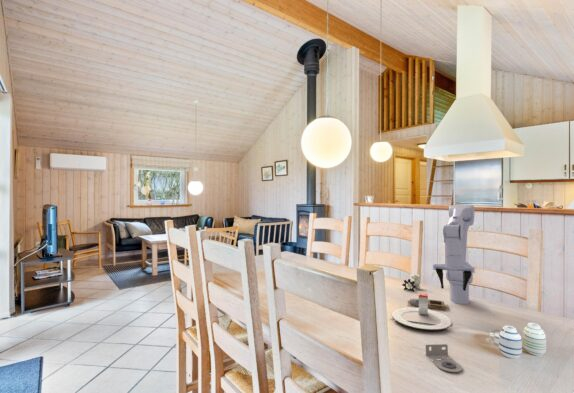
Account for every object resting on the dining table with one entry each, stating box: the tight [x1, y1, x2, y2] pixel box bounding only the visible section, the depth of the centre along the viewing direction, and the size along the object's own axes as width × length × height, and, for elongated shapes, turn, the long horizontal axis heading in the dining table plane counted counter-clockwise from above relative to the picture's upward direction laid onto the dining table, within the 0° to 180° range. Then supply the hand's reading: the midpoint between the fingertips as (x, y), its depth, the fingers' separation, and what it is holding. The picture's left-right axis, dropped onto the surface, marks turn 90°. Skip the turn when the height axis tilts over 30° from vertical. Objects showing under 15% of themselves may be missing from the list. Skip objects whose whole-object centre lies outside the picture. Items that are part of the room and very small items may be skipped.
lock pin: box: [418, 292, 429, 316], centre depth 122 cm, size 3×3×7 cm
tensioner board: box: [407, 298, 451, 312], centre depth 131 cm, size 8×16×3 cm, turn 68°
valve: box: [401, 274, 421, 292], centre depth 157 cm, size 7×7×12 cm
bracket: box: [425, 343, 463, 373], centre depth 88 cm, size 7×10×4 cm, turn 2°
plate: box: [391, 307, 452, 331], centre depth 118 cm, size 21×21×2 cm
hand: (453, 288), depth 123 cm, fingers open, 7 cm apart
